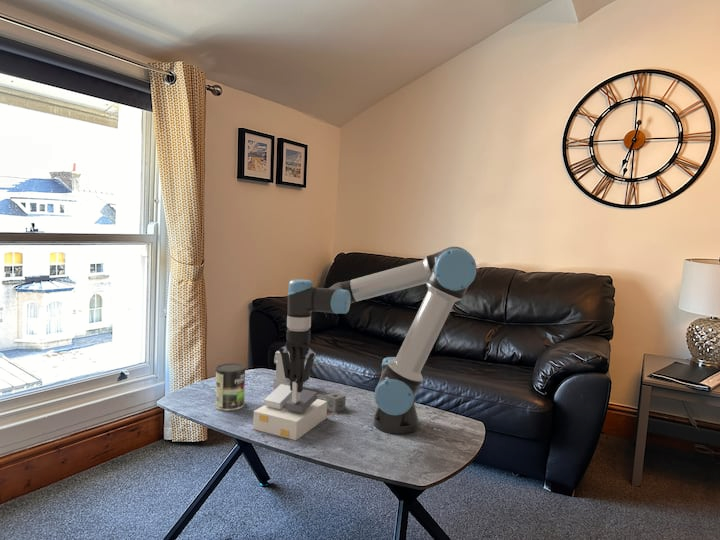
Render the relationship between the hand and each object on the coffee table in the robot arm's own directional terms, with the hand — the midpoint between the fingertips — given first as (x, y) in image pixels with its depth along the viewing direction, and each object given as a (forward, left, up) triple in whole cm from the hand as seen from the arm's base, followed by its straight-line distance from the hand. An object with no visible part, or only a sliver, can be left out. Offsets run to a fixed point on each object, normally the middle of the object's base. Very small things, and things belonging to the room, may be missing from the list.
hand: (296, 400), depth 158 cm
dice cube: (-3, -23, -10) cm, 26 cm away
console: (+4, -4, -10) cm, 12 cm away
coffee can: (+31, -6, -10) cm, 33 cm away
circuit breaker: (+21, -33, -10) cm, 41 cm away
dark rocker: (0, -4, -2) cm, 5 cm away
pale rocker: (+8, -4, -2) cm, 9 cm away
